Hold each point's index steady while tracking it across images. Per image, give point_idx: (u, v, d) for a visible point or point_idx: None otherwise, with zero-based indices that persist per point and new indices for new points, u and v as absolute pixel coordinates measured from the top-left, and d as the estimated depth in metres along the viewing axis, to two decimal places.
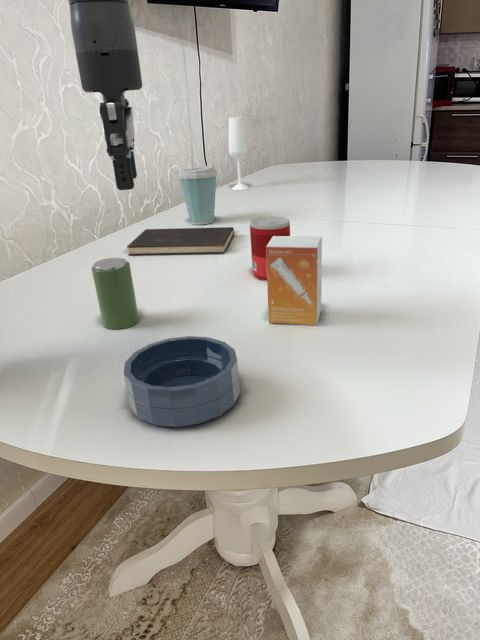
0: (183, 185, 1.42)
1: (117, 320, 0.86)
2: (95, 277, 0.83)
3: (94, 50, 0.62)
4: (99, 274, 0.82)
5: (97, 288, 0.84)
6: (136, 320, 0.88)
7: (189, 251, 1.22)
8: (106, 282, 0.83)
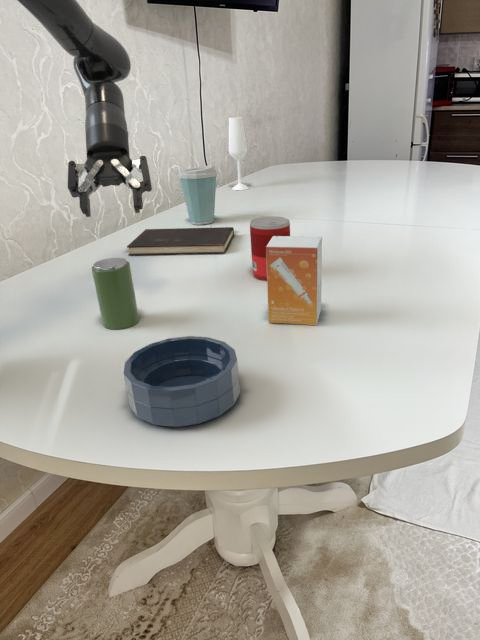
0: (183, 185, 1.42)
1: (117, 320, 0.86)
2: (95, 277, 0.83)
3: (125, 131, 0.96)
4: (99, 274, 0.82)
5: (97, 288, 0.84)
6: (136, 320, 0.88)
7: (189, 251, 1.22)
8: (106, 282, 0.83)
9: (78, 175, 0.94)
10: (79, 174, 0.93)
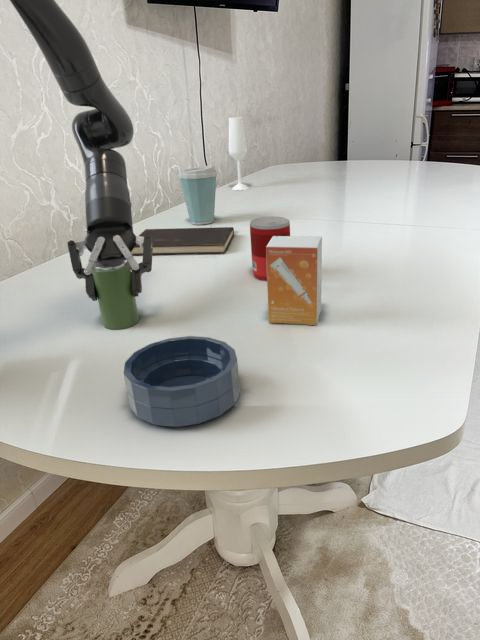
0: (183, 185, 1.42)
1: (117, 320, 0.86)
2: (95, 277, 0.83)
3: (128, 203, 0.89)
4: (99, 274, 0.82)
5: (97, 288, 0.84)
6: (136, 320, 0.88)
7: (189, 251, 1.22)
8: (106, 282, 0.83)
9: (80, 254, 0.87)
10: (81, 253, 0.87)
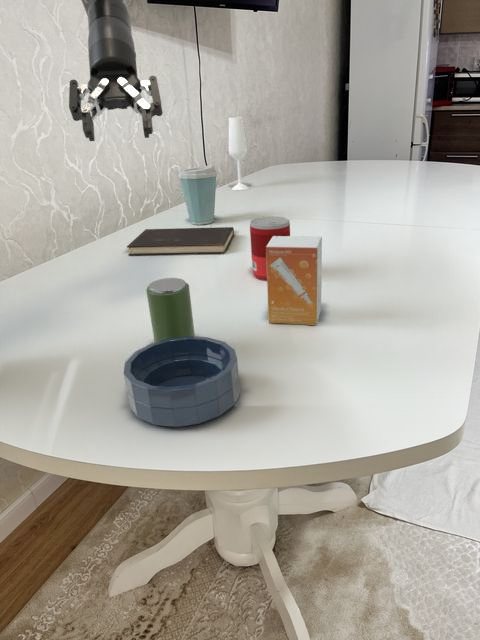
0: (183, 185, 1.42)
1: None
2: (151, 301, 0.73)
3: (133, 50, 0.86)
4: (157, 298, 0.72)
5: (152, 313, 0.74)
6: None
7: (189, 251, 1.22)
8: (164, 307, 0.72)
9: (80, 96, 0.84)
10: (82, 95, 0.84)
